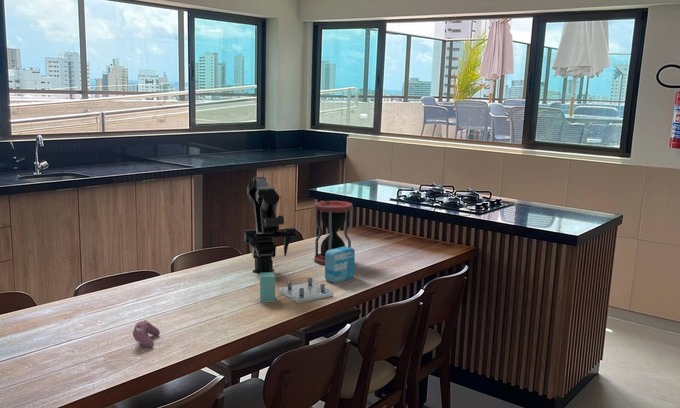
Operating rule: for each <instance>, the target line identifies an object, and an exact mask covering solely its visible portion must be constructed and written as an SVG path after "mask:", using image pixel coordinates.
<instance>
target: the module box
mask: <svg viewBox="0 0 680 408" xmlns="http://www.w3.org/2000/svg"><path fill="white" fill-rule="evenodd" d="M259 300H260V301H259V302H260V303H268V302H269V303H272V302H275V303H276V274H275V272H274V271H272V272H266V273H259Z"/></svg>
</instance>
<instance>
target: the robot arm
mask: <svg viewBox="0 0 680 408" xmlns="http://www.w3.org/2000/svg"><path fill="white" fill-rule="evenodd" d="M246 193H247V194H246V195H247V197H248V199H249V202H250V204H251V205H253V211H254V217H255V227H256V229H255V228H254V229H246V230H245V231H244V236H243V237H244V239H243V240H244V243H246V244H248V245H250V246H251V247H252V248H251V254H252V255H251V256H252V258H253V259H254V269H253V270H252V273H258V274H260V273H266V272H274V271H275V268H274V265H273V262H274V261H273V258H275V257H276V251H277V250H276V249H277V245H276V244H275V243H276V242H274V239H273V238H284V241H283V253H284V254H283V255H284V257H286V256H287V252H288V248H289V244H291V243H292V242H293V241H294V242H295V241H296V238H297V235H298V231H297V230H298V229H297V228H296V227H285V229H284V231H280V226H281V225H285V219H284V215H277V209H278V205H279V200H280V195H279V194H278V192H277V191H276V190H275V188H274V187H273V186H270V185H269V183H268V182H267V178H266V177H265V176H255V177H253V178H252V180H251V181H250V182H249V183H248V184H247V188H246Z"/></svg>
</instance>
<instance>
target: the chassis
mask: <svg viewBox="0 0 680 408" xmlns="http://www.w3.org/2000/svg"><path fill="white" fill-rule="evenodd" d="M325 286H326V284H324V283H320V284H318V283H315V282H313V278H312V277H308V278H307V282H305V283H304V282H303V283H299V284H294V285H293V282H292V281H287V282H286V286H283V287H279V288H278V290H279V293H280V294H282V295H283V296H285V297H288V298H289V299H291V300H292V301H294V302H296V303H298V304H301V303H305V302H307V303H308V302H311V301H315V300H316V301H317V300H321V299H324V298H325V299H326V298H330V297H333V296H334V291H332V290H329V289H327V288H325Z"/></svg>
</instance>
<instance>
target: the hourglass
mask: <svg viewBox="0 0 680 408" xmlns="http://www.w3.org/2000/svg"><path fill="white" fill-rule="evenodd" d="M314 209H315V225H316V228H317V229H318V235H317V236H316V238H315V255H314V259H313V261H314V262H315V263H316V264H318V265H323V266H325V253H326V252H327V251H328V250H332V249H336V248H340V247H344V246H345V247H346V244H345V242H344V240H343V239H342V238H341V236H339V234H338V231H339V229H341V228H342V226H344V224H345V222H346V220H347V219H346V218H347V211H348V225H347V227H346V228H345V229H344V233H343V234H344V237H345V239H346V240H347V245H348V246H347V247H349V248H352V241H351V238H350V237H349V235H348V233H349V229H350V228H351V227H352V209H353V203H352V202H350V201H344V200H341V201H340V200H323V201H316V202H315V203H314ZM319 211H320V219H321V221H320V222H321V223H322V224H323V226H324V227H325V228H326V229H327V230H328V233H329V234H328V235H326V237H325V238H324V239H323V240H322V242H321V244H320V253H319V239H320V238H321V237H322V235H323V229H322V227H321V226H320V224H319Z"/></svg>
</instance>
